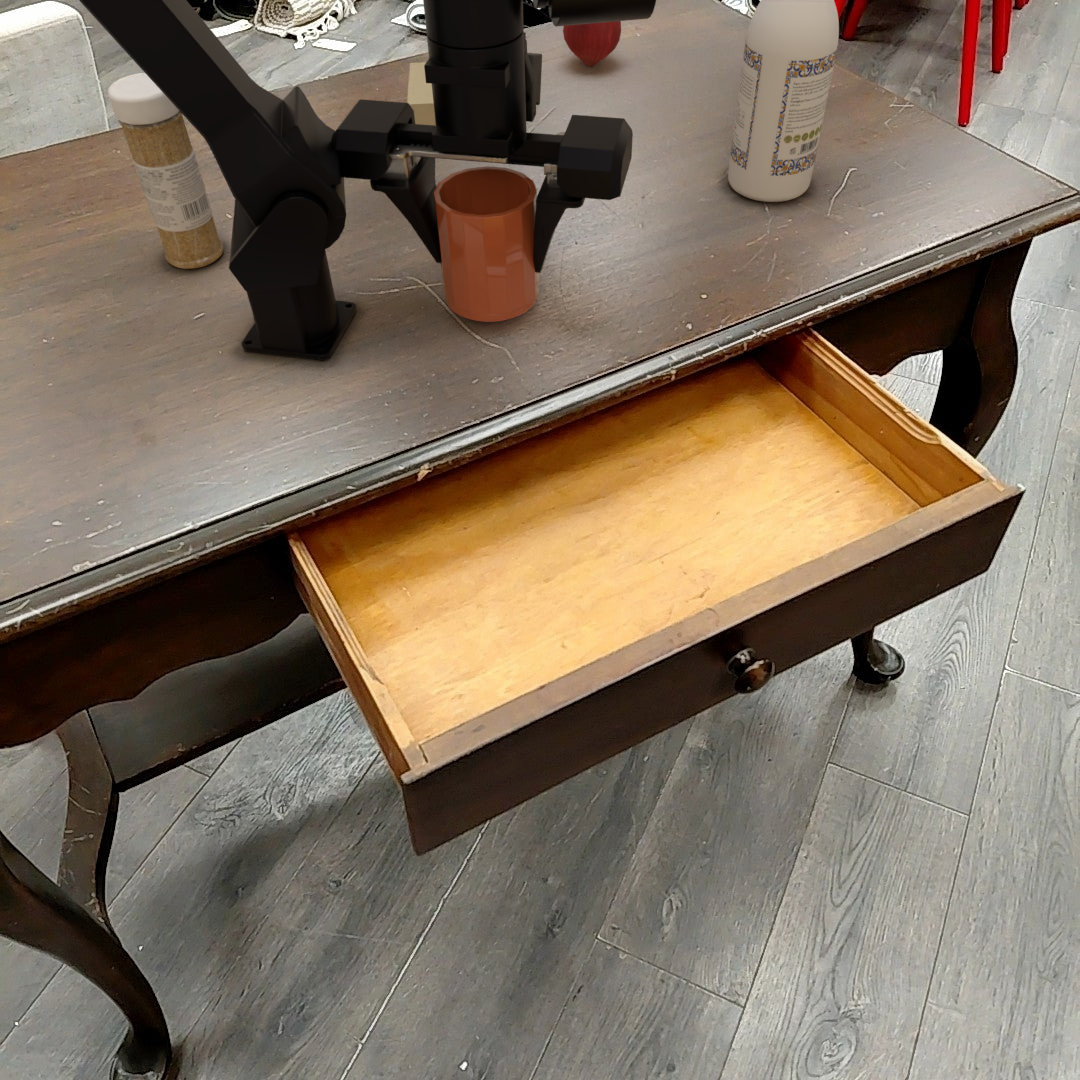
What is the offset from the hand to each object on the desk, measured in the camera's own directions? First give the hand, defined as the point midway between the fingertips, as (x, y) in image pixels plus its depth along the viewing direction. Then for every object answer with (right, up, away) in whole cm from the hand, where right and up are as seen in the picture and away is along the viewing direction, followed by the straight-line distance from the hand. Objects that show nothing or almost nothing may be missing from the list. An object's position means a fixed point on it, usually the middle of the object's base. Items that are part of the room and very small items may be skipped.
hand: (490, 264), depth 68 cm
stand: (-4, +20, +23) cm, 31 cm away
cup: (0, -2, +2) cm, 2 cm away
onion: (+9, +29, +32) cm, 44 cm away
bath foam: (+23, +11, +15) cm, 29 cm away
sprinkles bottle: (-24, +3, +9) cm, 26 cm away
